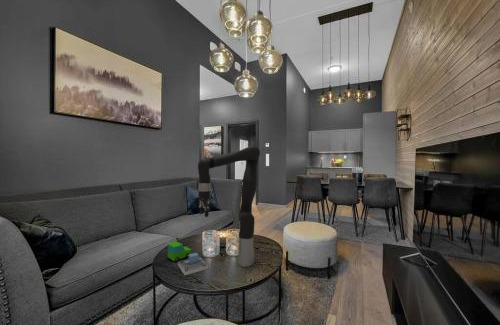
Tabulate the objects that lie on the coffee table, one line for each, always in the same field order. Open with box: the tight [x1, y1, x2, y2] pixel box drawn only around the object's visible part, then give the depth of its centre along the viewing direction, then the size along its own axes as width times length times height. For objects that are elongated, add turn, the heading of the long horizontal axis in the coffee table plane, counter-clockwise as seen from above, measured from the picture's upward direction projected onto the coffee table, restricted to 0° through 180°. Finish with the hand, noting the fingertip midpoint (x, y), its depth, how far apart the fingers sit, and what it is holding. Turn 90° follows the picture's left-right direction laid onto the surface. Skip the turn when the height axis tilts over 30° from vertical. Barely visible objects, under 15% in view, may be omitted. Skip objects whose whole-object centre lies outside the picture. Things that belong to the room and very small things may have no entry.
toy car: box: [167, 241, 192, 263], centre depth 143 cm, size 10×13×10 cm
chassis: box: [177, 255, 209, 276], centre depth 131 cm, size 14×14×3 cm
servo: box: [185, 252, 203, 265], centre depth 131 cm, size 10×4×6 cm, turn 123°
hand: (204, 215), depth 137 cm, fingers open, 8 cm apart
